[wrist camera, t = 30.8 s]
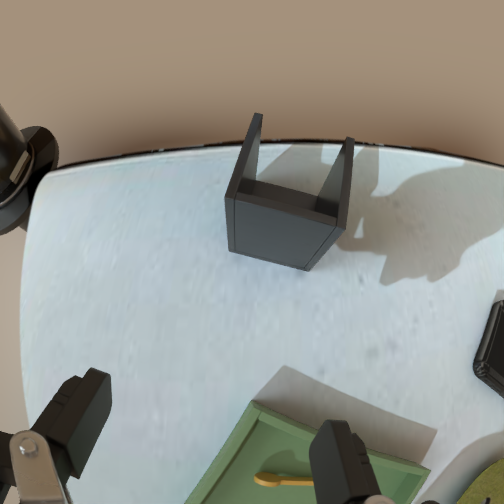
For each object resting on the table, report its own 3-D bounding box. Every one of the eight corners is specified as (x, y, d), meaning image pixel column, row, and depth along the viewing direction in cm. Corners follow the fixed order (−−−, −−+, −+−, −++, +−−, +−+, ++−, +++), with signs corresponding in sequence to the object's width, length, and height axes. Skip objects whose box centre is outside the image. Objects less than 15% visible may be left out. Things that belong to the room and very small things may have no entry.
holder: (228, 251, 22) (223, 197, 14) (249, 182, 24) (254, 112, 16) (309, 272, 21) (345, 229, 14) (322, 201, 23) (354, 138, 16)
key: (256, 485, 14) (257, 481, 14) (251, 475, 16) (252, 470, 16) (323, 488, 15) (324, 483, 15) (313, 479, 16) (315, 474, 17)
